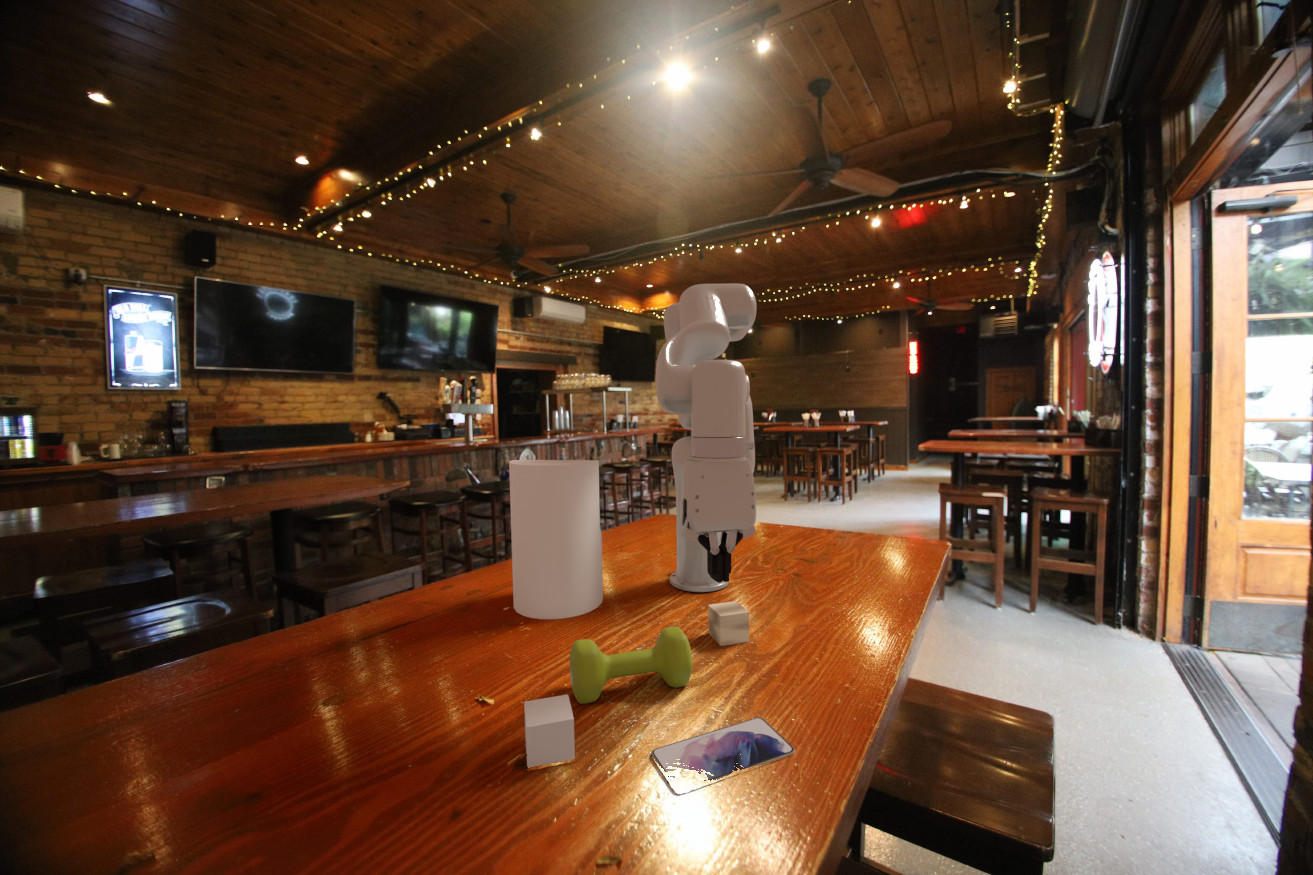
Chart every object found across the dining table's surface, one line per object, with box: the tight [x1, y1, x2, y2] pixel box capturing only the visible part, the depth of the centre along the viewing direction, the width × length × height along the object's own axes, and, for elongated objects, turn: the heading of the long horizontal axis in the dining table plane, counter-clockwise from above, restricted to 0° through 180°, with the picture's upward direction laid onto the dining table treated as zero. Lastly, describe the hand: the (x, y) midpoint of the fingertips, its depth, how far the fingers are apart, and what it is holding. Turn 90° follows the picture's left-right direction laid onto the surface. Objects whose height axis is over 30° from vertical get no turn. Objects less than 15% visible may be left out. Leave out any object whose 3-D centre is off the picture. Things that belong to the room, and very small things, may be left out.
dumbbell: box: [569, 626, 693, 705], centre depth 72 cm, size 16×8×7 cm, turn 106°
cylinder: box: [508, 459, 604, 620], centre depth 103 cm, size 17×17×28 cm
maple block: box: [707, 600, 750, 647], centre depth 87 cm, size 5×5×5 cm
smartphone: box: [650, 717, 796, 781], centre depth 58 cm, size 7×1×15 cm
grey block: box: [523, 693, 576, 768], centre depth 59 cm, size 5×5×5 cm
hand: (719, 579), depth 74 cm, fingers closed
